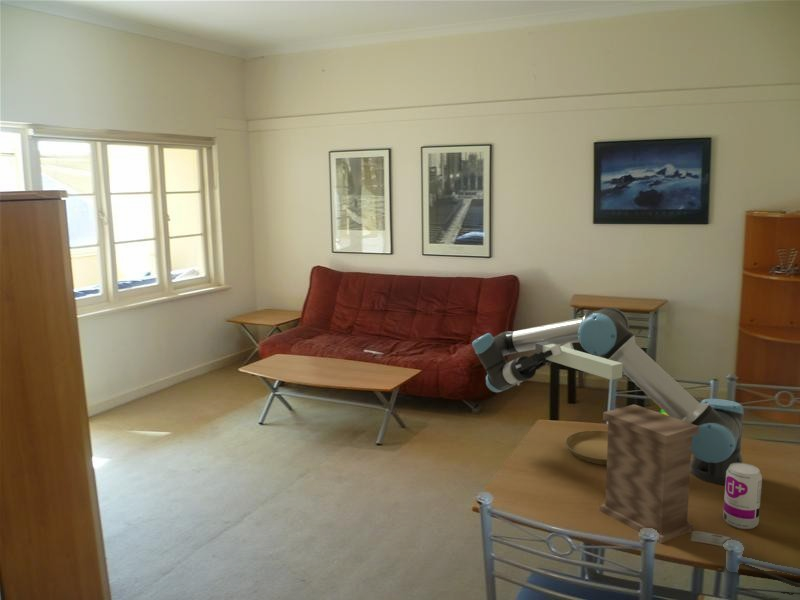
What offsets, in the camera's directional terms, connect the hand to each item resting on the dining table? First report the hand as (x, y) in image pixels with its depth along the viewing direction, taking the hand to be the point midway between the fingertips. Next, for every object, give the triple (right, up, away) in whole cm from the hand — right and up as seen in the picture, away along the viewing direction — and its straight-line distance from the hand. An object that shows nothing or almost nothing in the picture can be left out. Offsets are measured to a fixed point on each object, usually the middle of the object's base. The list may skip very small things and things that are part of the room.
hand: (565, 347), depth 196 cm
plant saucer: (+18, -37, +26) cm, 49 cm away
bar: (+2, -5, -3) cm, 6 cm away
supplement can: (+40, -44, -21) cm, 64 cm away
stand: (+16, -44, -19) cm, 51 cm away
